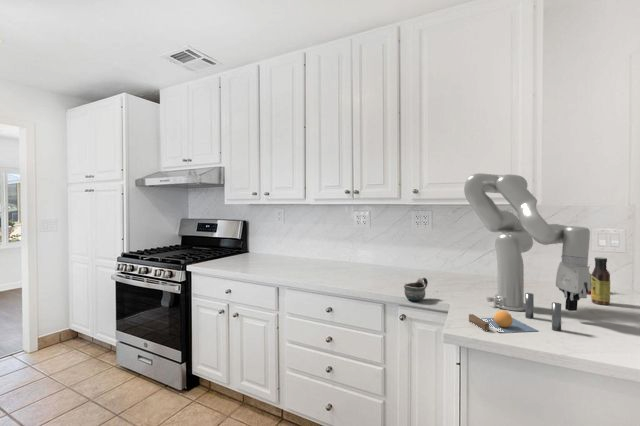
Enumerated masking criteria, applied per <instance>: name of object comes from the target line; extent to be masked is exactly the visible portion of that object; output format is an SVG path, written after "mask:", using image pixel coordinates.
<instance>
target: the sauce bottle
mask: <svg viewBox="0 0 640 426" xmlns="http://www.w3.org/2000/svg"><path fill="white" fill-rule="evenodd" d="M607 262H608V258H607V257H604V256H603V257H602V256H601V257H599V256H595V257H594V267H593V271H592V272H591V273H590V274H591V294H590V299H591V302H592V303H593V304H594V305H603V306H608V305H610V303H611V273H610V272H609V270H608V269H607Z"/></svg>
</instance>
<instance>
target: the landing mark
mask: <svg viewBox="0 0 640 426" xmlns="http://www.w3.org/2000/svg"><path fill="white" fill-rule="evenodd" d="M480 318H481V317H480ZM481 319H487V320H488V322H487V323H489V324H490V323H491V324H492V325H493V326H494V327H495V328H497V329H498V328H499V329H500V328H501V331H502V330H503V331H504V332H512V333H530V332H534V331H536V332H539V330H538V329H536V328H534V327H531V326H530V325H528V324H526V323H524V322H523V321H522V322H521V321H520V320H518V319H516V318H515V317H514V318H513V317H512V324H511V325H510V326H509V327H505V328H504V327H500V326H498V325H497V324H496V322H495V320H494V317H482V318H481ZM491 319H492V320H493V321H492V320H491ZM487 320H486V321H487ZM489 320H490V321H489ZM491 324H490V325H491ZM490 325H489V326H490ZM492 325H491V326H492ZM491 326H490V327H491ZM493 326H492V327H493ZM490 327H489V328H490ZM499 331H500V330H499Z"/></svg>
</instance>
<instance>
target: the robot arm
mask: <svg viewBox="0 0 640 426" xmlns="http://www.w3.org/2000/svg"><path fill="white" fill-rule="evenodd" d="M528 186H529V185H528V181H527V179H526V178H525V177H524V176H522V175H518V174H491V173H474V174H471V175H470V176H468V178H466V180H465V183H464V189H463V192H464V193H463V194H464V197H465V198H466V200H467V202H468V203H469V205H470V206H471V207H472V208H473V210H474V211H475V213H476V215H477V216H478V217H479V219H480V221H481V222H482V224H483V225H484V227H485V228H486V229H487V230H488V231H489V232H491V233H500V234H499V235H498V236H497V237H496V239H495V242H494V247H495V252H496V260H497V263H496V264H497V294H494V296H492V297H491V296H490V297H489V296H487V297H486V302H488V303H493V306H494V307H496V308H499V309H502V310H505V311H506V310H508V311H518V312H519V311H520V312H523V311H525V297H524V295H525V293H524V290H525V287H524V286H525V279H524V277H525V273H524V270H525V269H524V260H523V255H522V253H526V252H529V251H530V250H531V249H532V247H533V246H534V241H536V242H537V244H540V245H543V246H544V245H545V246H547V245H557V244H562V247H561V248H562V250H561V261H559V263H558V266H557V267H558V268H557V271H556V275H555V286H556V287H557V288H558V290H559V291H561V292H562V293H563V296H564V298H565V305H564V306H565V310H567V311H570V312H576V311H578V301H580V299H587V298H588V295H589V294H588V293H589V288H590V274H591V273H590V267H589V250H590V238H591V237H590V235H591V231H590V229H589V228H588V227H584V226H573V225H570V226H569V225H564V224H557V223H548V222H547V221H546V220H545V219H544V218H543V217H542V216H541V214H540V213H539V212H538V209H537V203H538V200H537V198H536V196H534V195H533V193H531V192H530V191H529V190H528ZM487 193H489V194H490V193H491V194H492V193H493V194H501V196H502V197H503V198H504V199H505V201H506V202H507V203H509V205H510V207H512V208H513V210H514V211H516V214H517V216H516V214H514V213H513V212H512V211H508V210H502V209H500V208H499V207H498V206H497V205H496V203H495V202H494V200H493V199H492V198H491V197H490V196H489V195H488V194H487ZM589 273H590V274H589Z"/></svg>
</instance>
